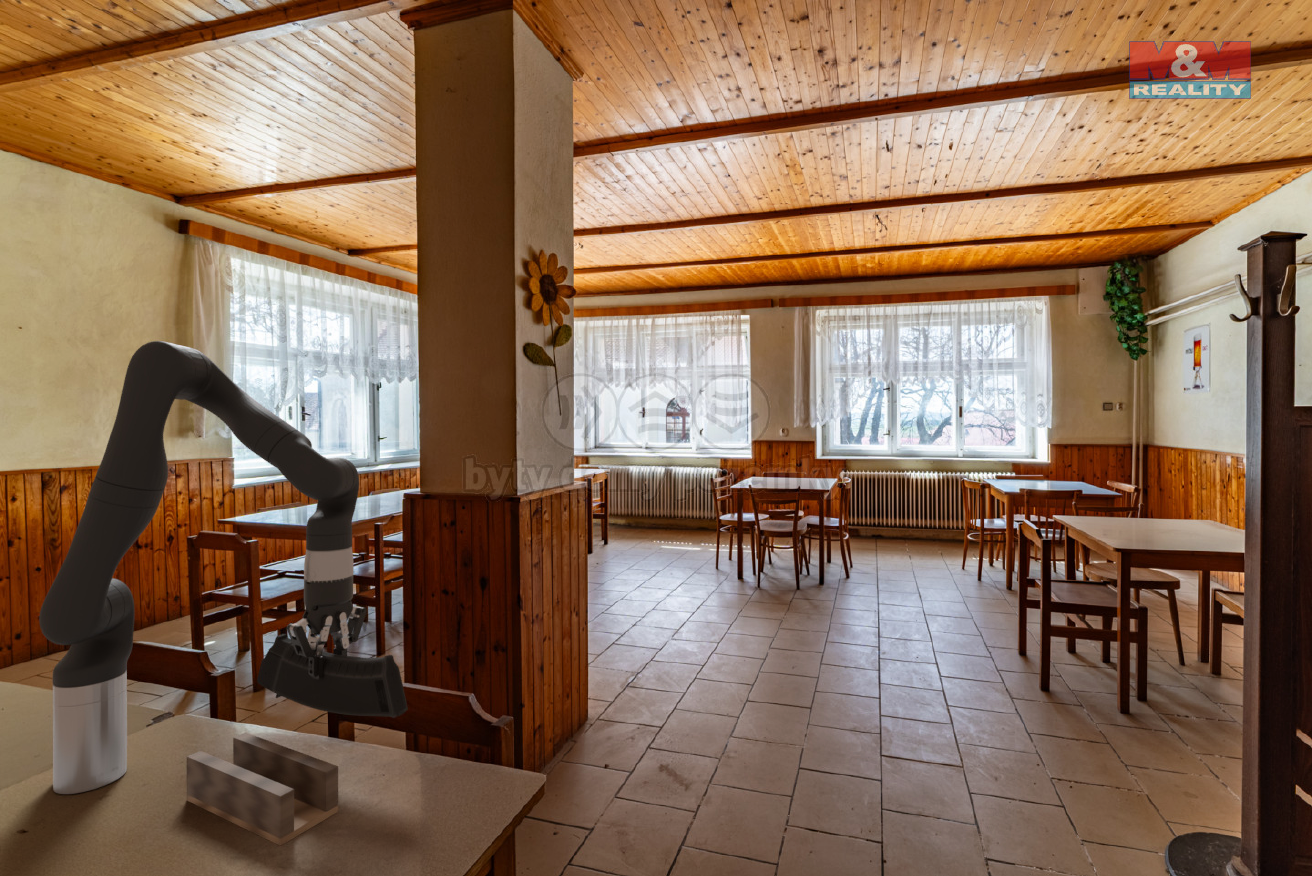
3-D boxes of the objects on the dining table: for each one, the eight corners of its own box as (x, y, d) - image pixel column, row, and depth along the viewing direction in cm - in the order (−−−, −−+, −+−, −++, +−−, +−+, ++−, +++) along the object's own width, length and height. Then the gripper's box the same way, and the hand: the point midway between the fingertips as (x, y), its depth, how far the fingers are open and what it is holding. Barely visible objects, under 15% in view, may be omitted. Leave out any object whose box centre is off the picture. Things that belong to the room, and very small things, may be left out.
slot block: (186, 800, 99) (186, 756, 99) (245, 772, 107) (245, 732, 107) (280, 845, 88) (280, 796, 88) (338, 811, 96) (338, 766, 96)
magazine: (420, 665, 103) (290, 595, 113) (406, 672, 100) (274, 600, 110) (395, 758, 105) (269, 682, 115) (381, 768, 102) (252, 689, 112)
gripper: (351, 564, 116) (350, 657, 116) (274, 579, 103) (273, 683, 103) (379, 568, 112) (378, 664, 112) (303, 585, 100) (302, 692, 100)
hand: (328, 673), depth 108 cm, fingers closed on magazine, 3 cm apart
